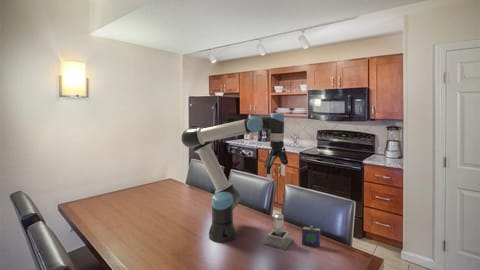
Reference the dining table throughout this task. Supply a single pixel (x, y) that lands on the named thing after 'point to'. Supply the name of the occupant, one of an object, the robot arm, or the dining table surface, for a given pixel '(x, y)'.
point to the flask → (310, 237)
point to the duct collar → (278, 240)
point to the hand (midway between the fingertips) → (276, 177)
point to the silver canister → (278, 225)
